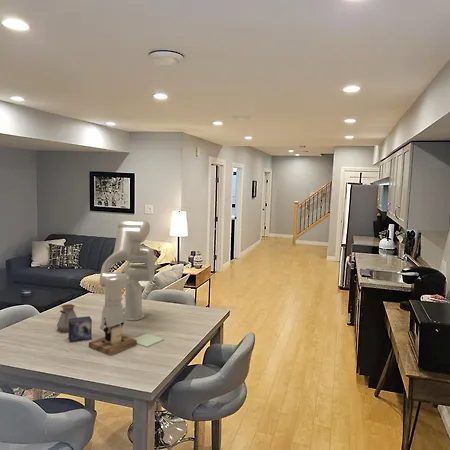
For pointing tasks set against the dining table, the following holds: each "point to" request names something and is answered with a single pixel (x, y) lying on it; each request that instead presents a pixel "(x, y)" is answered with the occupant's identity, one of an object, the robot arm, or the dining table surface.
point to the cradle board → (111, 350)
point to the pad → (148, 340)
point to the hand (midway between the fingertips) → (113, 338)
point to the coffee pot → (66, 317)
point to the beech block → (114, 335)
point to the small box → (80, 329)
